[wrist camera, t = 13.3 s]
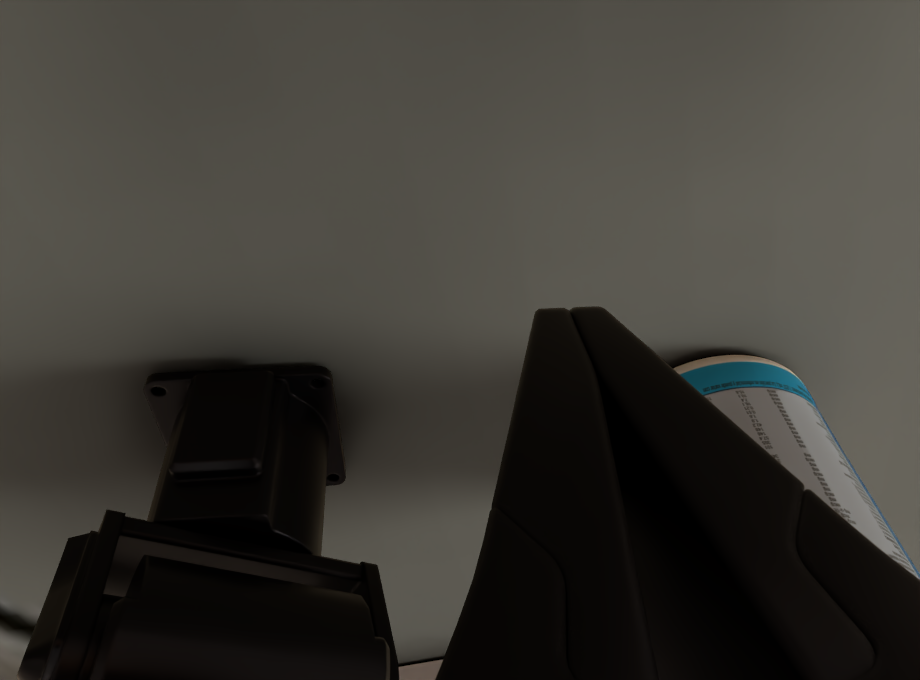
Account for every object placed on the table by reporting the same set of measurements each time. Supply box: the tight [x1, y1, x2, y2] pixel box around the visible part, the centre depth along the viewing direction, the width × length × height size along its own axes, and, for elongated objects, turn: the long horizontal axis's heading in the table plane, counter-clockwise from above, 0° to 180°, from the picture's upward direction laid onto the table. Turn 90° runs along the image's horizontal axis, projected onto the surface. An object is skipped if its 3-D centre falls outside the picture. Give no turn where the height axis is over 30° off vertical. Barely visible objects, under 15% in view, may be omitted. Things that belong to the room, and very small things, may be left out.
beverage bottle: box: [673, 355, 920, 579], centre depth 22 cm, size 8×8×20 cm
